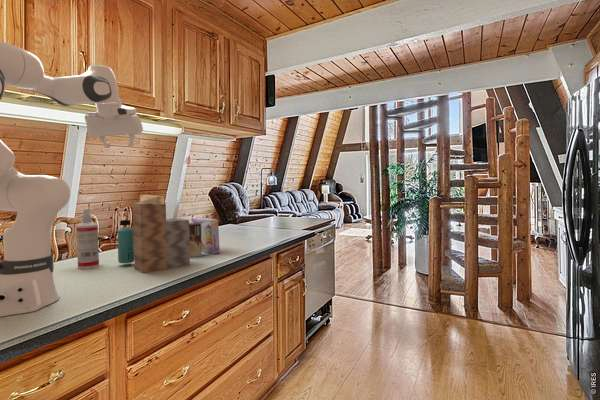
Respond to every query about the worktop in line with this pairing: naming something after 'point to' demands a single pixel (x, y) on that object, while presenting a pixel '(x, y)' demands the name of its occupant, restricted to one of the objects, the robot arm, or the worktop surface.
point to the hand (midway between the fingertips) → (119, 146)
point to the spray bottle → (87, 242)
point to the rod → (152, 199)
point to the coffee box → (195, 239)
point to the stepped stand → (159, 238)
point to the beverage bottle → (125, 243)
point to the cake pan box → (209, 234)
